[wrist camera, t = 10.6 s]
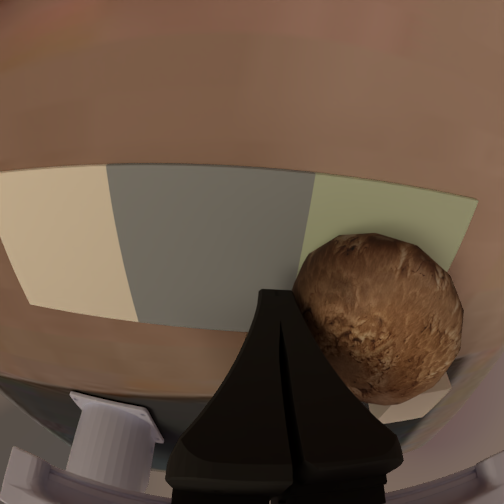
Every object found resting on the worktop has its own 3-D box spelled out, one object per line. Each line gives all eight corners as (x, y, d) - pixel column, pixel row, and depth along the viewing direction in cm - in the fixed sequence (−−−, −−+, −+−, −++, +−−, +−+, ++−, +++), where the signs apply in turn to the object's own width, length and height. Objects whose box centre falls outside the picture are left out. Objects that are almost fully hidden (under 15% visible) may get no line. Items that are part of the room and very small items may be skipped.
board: (411, 330, 17) (412, 333, 17) (31, 302, 16) (30, 304, 16) (476, 199, 11) (478, 201, 11) (-17, 173, 11) (-19, 175, 11)
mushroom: (505, 298, 10) (484, 419, 7) (392, 345, 17) (344, 432, 13) (400, 160, 11) (335, 241, 7) (303, 251, 17) (231, 326, 14)
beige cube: (362, 376, 20) (409, 371, 20) (372, 425, 17) (423, 417, 17) (382, 342, 18) (433, 339, 18) (398, 397, 14) (452, 388, 14)
